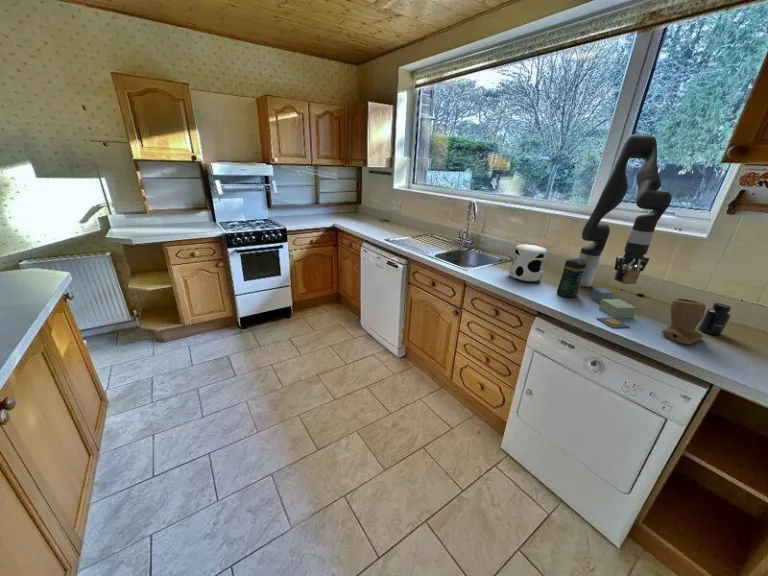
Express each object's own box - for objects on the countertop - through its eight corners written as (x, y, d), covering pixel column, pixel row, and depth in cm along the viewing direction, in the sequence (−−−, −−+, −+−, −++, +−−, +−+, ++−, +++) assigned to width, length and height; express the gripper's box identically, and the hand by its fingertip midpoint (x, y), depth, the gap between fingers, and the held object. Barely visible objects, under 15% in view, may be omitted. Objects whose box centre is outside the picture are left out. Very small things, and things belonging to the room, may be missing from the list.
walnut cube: (613, 279, 138) (618, 267, 136) (624, 279, 139) (629, 267, 137) (624, 284, 133) (629, 271, 131) (635, 283, 134) (640, 271, 132)
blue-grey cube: (590, 298, 156) (594, 288, 154) (600, 298, 157) (603, 288, 155) (599, 303, 151) (603, 292, 149) (609, 303, 152) (613, 292, 150)
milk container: (503, 273, 187) (509, 243, 180) (533, 274, 187) (540, 244, 180) (513, 283, 171) (520, 251, 164) (546, 285, 171) (554, 253, 164)
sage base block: (598, 309, 145) (601, 299, 143) (615, 309, 146) (619, 299, 145) (614, 318, 137) (617, 307, 135) (632, 318, 138) (636, 307, 136)
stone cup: (669, 326, 132) (683, 292, 126) (705, 340, 122) (723, 304, 117) (650, 333, 125) (664, 298, 120) (687, 348, 116) (704, 311, 110)
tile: (596, 319, 135) (597, 317, 134) (612, 318, 136) (613, 316, 136) (612, 328, 127) (613, 326, 127) (629, 327, 129) (630, 325, 128)
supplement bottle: (713, 337, 125) (727, 309, 120) (693, 328, 131) (706, 302, 126) (725, 335, 127) (739, 308, 122) (705, 327, 133) (717, 300, 128)
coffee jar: (569, 299, 154) (580, 262, 147) (553, 293, 160) (563, 258, 153) (579, 295, 159) (590, 260, 152) (563, 290, 165) (573, 255, 158)
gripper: (645, 239, 134) (631, 277, 141) (615, 239, 132) (603, 277, 138) (662, 244, 127) (647, 283, 134) (631, 243, 125) (617, 283, 131)
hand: (625, 280), depth 136 cm, fingers closed on walnut cube, 5 cm apart
